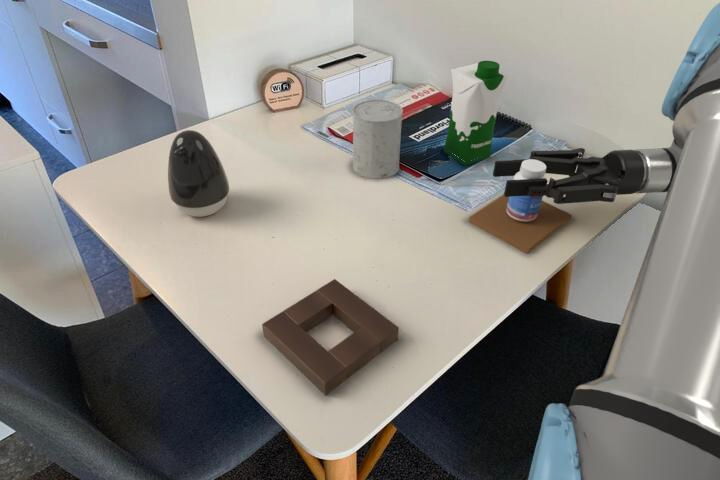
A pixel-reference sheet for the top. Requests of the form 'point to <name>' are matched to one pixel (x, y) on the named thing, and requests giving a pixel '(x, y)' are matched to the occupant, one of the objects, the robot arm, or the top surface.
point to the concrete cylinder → (376, 138)
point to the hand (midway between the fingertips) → (500, 178)
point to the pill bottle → (526, 205)
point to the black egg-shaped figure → (196, 175)
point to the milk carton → (474, 111)
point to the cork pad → (519, 224)
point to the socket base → (347, 355)
